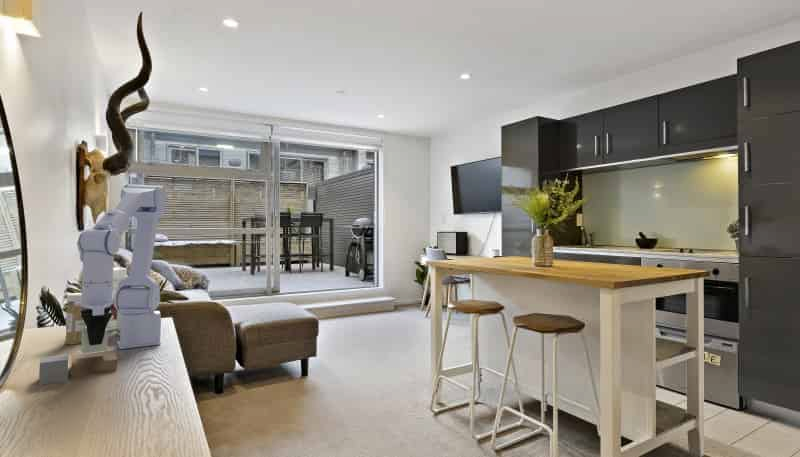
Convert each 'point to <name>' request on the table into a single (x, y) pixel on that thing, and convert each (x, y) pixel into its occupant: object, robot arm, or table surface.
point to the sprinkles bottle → (74, 320)
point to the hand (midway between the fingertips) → (95, 341)
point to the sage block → (93, 348)
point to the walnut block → (93, 363)
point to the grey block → (53, 369)
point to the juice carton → (117, 277)
